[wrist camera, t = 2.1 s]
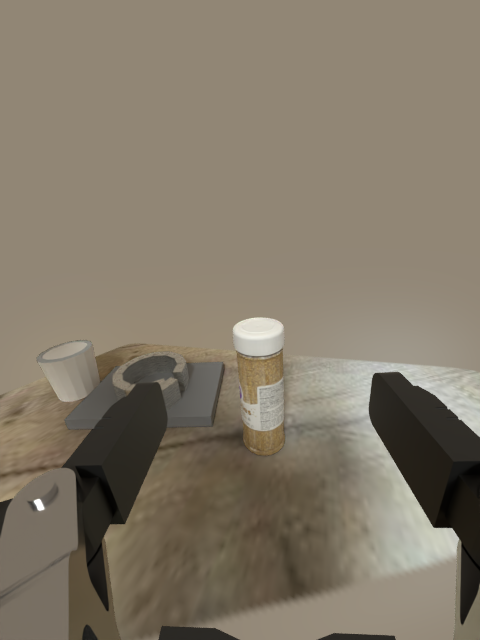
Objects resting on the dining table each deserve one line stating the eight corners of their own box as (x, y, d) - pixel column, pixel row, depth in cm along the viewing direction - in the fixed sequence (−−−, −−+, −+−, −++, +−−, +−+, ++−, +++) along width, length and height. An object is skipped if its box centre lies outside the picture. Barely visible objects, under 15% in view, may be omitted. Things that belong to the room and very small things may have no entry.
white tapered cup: (47, 393, 38) (30, 353, 35) (94, 372, 42) (82, 335, 40) (62, 411, 33) (43, 367, 31) (112, 385, 38) (99, 345, 36)
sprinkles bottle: (237, 430, 28) (226, 321, 23) (274, 419, 29) (270, 312, 24) (252, 465, 24) (242, 340, 19) (294, 449, 25) (294, 328, 20)
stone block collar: (103, 412, 30) (96, 392, 29) (137, 369, 39) (133, 353, 38) (177, 410, 30) (173, 389, 29) (195, 367, 38) (192, 350, 37)
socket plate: (68, 429, 30) (64, 419, 30) (118, 373, 41) (116, 366, 41) (212, 426, 29) (210, 416, 28) (223, 369, 40) (223, 361, 39)
